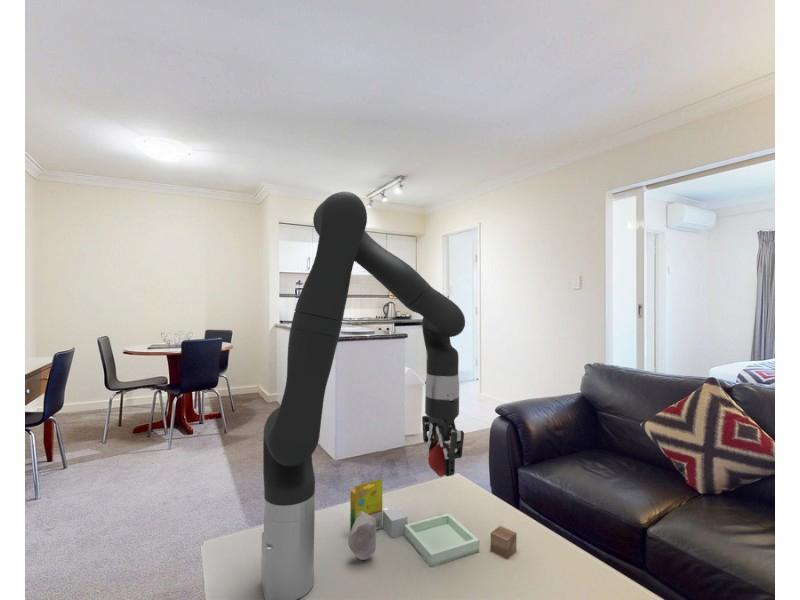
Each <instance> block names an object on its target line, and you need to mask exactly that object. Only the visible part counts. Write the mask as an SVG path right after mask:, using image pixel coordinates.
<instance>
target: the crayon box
mask: <svg viewBox="0 0 800 600" xmlns="http://www.w3.org/2000/svg"><path fill="white" fill-rule="evenodd" d="M354 487H355V488H353V489H350V496H349V498H350V501H349V502H350V509H349V510H350V511H349V512H350V522H349V523H350V525H349V526H350V527H349V528H350V532H351V529H352V527H353V524H354V523H355V521H356V519H357V515H358V514H359V512H361V511H363V512H364V513H365V514H368V515H369V516H371V517H374V518H375V520H376V530H378V529H383V478H379V479H375V480H372V481H368V482H365V483H362V484H358V485H355V486H354Z"/></svg>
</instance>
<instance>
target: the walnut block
mask: <svg viewBox="0 0 800 600" xmlns="http://www.w3.org/2000/svg"><path fill="white" fill-rule="evenodd" d="M489 549H490V553H491V552H492V553H493V554H496V555H497V556H499V557H501V558H504V559H506V560H509V559H510V558H511V557H512V556H513V555H514V554H515V553H516V552H517V532H515V531H514V530H511V529H509V528H506V527H504V526H503V525H498V526H497V527H496V528H495V529H494V530H492V531H491V532H490V548H489Z"/></svg>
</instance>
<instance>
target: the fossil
mask: <svg viewBox="0 0 800 600" xmlns="http://www.w3.org/2000/svg"><path fill="white" fill-rule="evenodd" d="M347 544H348V548H349V549H350V552H351V553H352V554H353V555H354V556H355V557H356V558H357V559H359V560H363V561H364V560H365V561H366V560H368V559H370V558H371V556H372V555H374V554H375V552H376V548H377V529H376V520H375V518H374V517H371V516H369V515H368V514H365V513H364V512H363V511H361V512H359V514H358V515H357V519H356V521H355V523H354V524H353V527H352V529H351V531H350V533H349V535H348V543H347Z"/></svg>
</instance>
